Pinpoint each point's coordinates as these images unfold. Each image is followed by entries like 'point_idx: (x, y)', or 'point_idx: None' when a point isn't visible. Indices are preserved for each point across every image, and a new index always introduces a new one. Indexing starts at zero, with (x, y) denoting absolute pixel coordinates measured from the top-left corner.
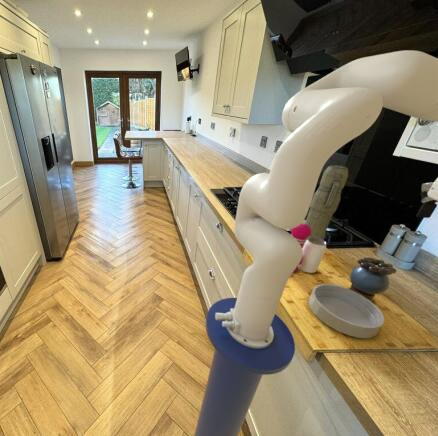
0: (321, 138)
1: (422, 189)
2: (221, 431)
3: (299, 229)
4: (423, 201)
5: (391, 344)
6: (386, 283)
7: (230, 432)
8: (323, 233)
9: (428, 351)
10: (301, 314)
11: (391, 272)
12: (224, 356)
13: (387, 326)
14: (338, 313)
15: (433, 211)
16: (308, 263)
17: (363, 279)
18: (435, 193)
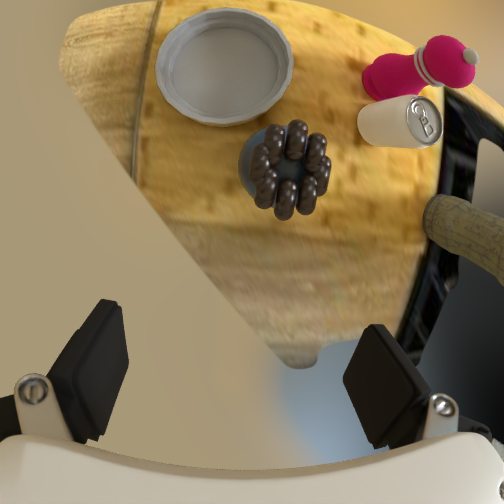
0: None
1: (499, 446)
2: None
3: (446, 36)
4: (441, 400)
5: (148, 112)
6: (242, 171)
7: None
8: (454, 237)
9: (130, 168)
10: (236, 5)
11: (250, 177)
12: None
13: (184, 143)
14: (224, 63)
15: (355, 409)
16: (375, 104)
17: None
18: (463, 486)
